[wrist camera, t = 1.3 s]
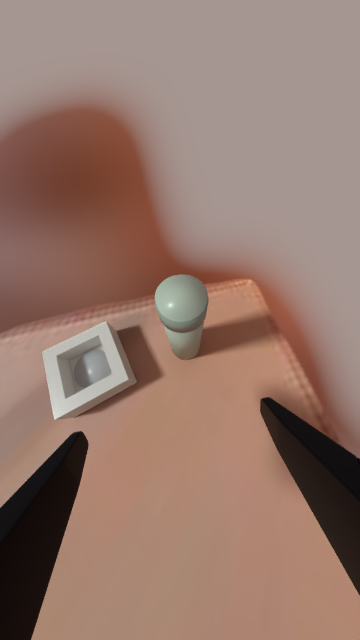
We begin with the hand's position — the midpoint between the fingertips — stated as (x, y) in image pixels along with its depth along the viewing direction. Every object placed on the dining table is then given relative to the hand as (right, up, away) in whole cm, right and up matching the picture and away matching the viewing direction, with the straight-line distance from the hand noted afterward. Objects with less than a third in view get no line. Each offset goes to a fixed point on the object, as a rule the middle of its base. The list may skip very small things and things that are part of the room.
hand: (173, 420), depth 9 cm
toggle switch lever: (+1, +1, +16) cm, 16 cm away
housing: (-11, -2, +15) cm, 19 cm away
